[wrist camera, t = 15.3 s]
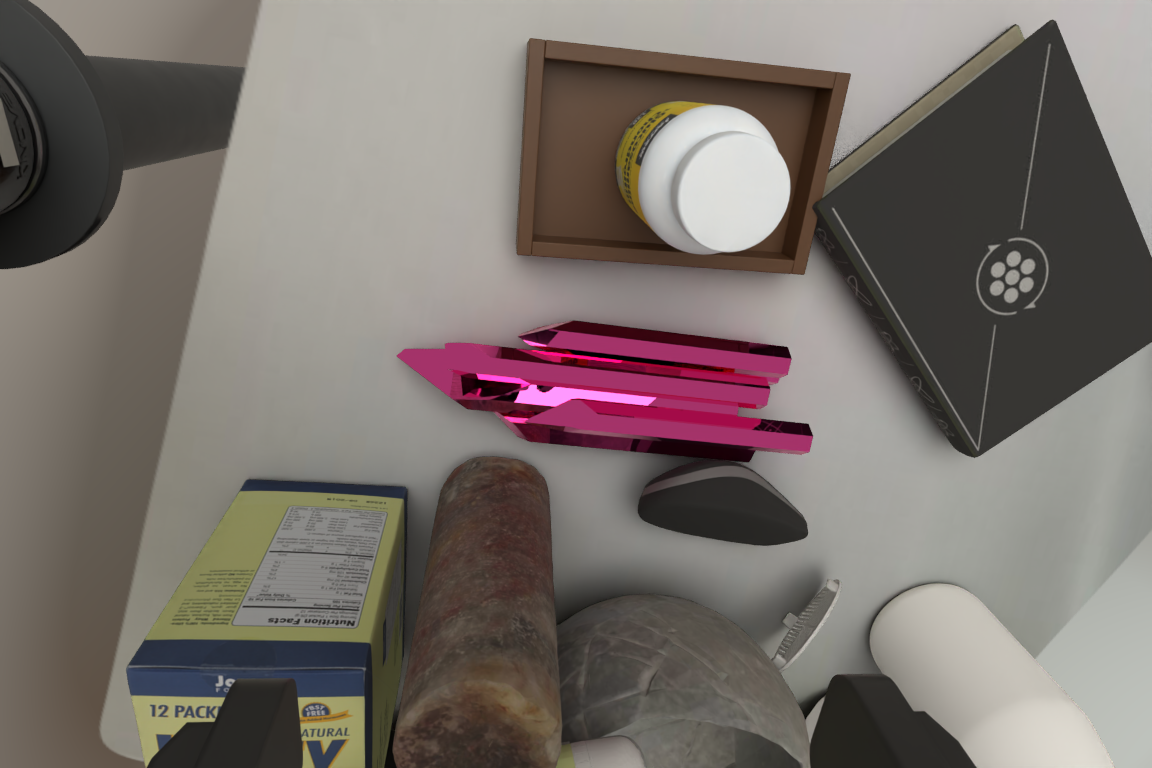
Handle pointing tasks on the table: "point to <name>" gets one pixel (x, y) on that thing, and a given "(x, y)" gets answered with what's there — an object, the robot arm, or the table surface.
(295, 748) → the robot arm
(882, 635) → the wine bottle
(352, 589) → the protein box
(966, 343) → the book
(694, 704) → the bowl
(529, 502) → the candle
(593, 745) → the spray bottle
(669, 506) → the computer mouse
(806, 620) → the drain cover
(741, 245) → the pill bottle
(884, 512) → the table surface
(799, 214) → the serving tray
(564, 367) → the crystal
